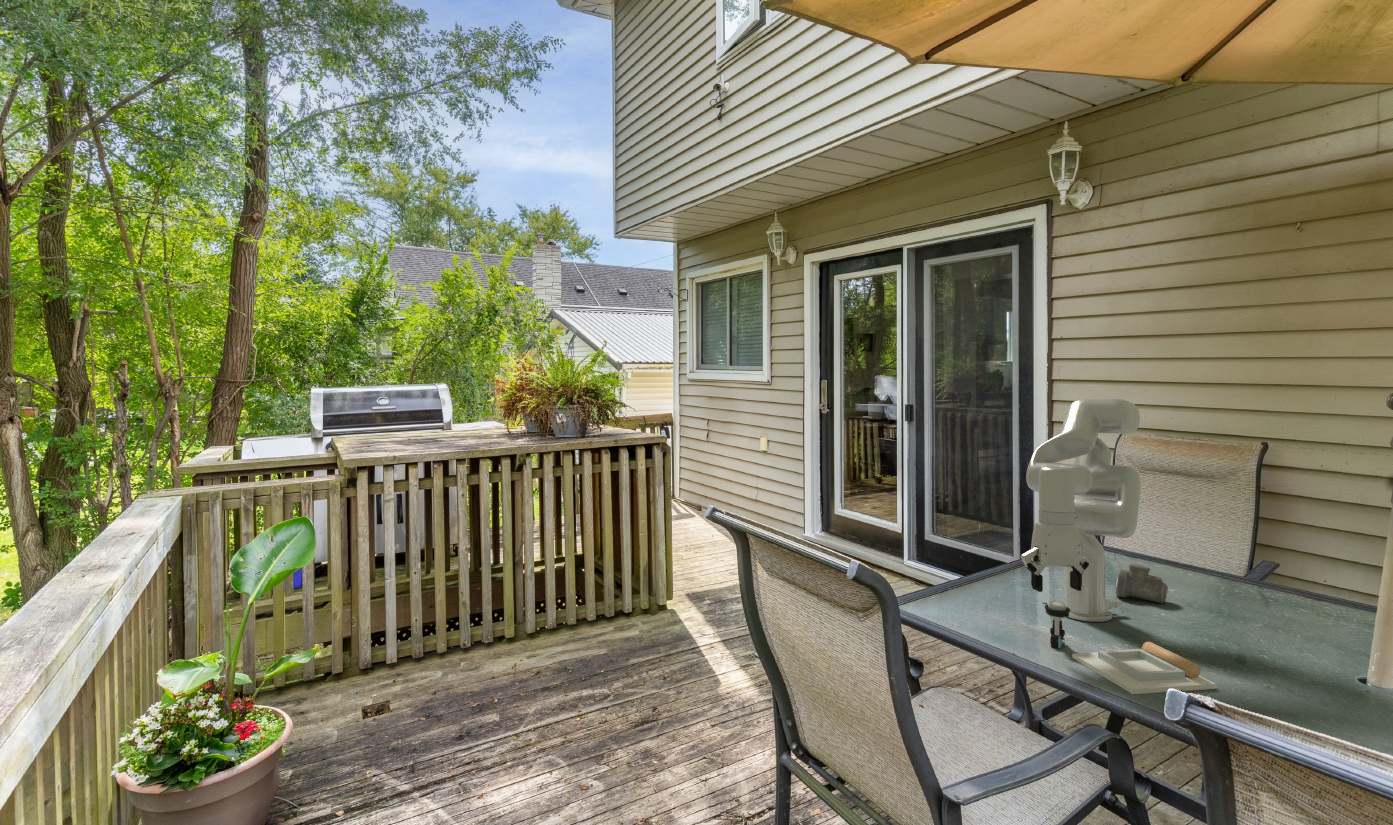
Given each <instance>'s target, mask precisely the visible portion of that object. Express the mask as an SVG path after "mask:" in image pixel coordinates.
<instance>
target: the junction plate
mask: <svg viewBox="0 0 1393 825" xmlns="http://www.w3.org/2000/svg"><path fill="white" fill-rule="evenodd" d="M1071 658H1072V659H1073V660H1075V661H1076V662H1078V663H1079V664H1081V665H1082V666H1085V667H1086V668H1088V669H1090V670H1092V671H1093V672H1095V673H1096V674H1099V675H1100V676H1101V677H1103V678H1104V679H1106V680H1108V681H1109V682H1111V683H1113V684H1115V685H1117V686H1118V687H1120V688H1121V689H1123V690H1125V691H1127V692H1128V693H1130V694H1131V695H1141V694H1142V695H1144V694H1158V693H1167V692H1166V690H1168V689H1169V688H1175V689H1179V690H1182V691H1181V692H1188V691H1189V692H1190V691H1205V690H1215V689H1217V684H1216V683H1215V682H1213V681H1211V680H1209V679H1207V678H1205V677H1203V676H1202V675H1201V671H1202V670H1201V668H1202V667H1201V666H1200V665H1199V664H1197V663H1195V662H1194V661H1191V660H1189V659H1187V658H1185V657H1183V656H1180V655H1178V654H1177V653H1174V652H1173V651H1170V650H1168V649H1166V648H1164V647H1162V646H1160V645H1157V644H1155V643H1154V642H1152V641H1146V642H1144V643H1143V644H1142V647H1141V648H1130V649H1118V650H1117V649H1114V650H1100V651H1093V652H1092V651H1091V652H1078V653H1077V652H1076V653H1072V654H1071ZM1164 691H1165V692H1164Z"/></svg>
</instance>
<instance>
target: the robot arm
mask: <svg viewBox="0 0 1393 825" xmlns="http://www.w3.org/2000/svg"><path fill="white" fill-rule="evenodd" d="M1140 422H1141V415H1140V411H1139V408H1138V406H1136V405H1135V404H1134V403H1133V402H1131V401H1129V400H1125V399H1121V398H1082V399H1078V400H1075V401H1072V402H1071V403H1070V405H1069V406H1068V408H1067V411H1066V413H1065V417H1064V419H1063V423H1062V426H1061V429H1060V431H1059V434H1056V436H1053V437H1051V438H1049V439H1048V440H1046V441H1045V442H1043V443H1042V444H1040V445H1039V446H1038V447H1037V448H1036V449H1035V450H1034V452H1032V454H1031V458H1030V461H1029V463H1028V466H1027V469H1026V475H1025V476H1026V477H1025V480H1026V484H1027V486H1028V488H1029V489H1031V490H1032V491H1033V492H1038V522H1034V523H1035V524H1034V527H1033V531H1032V536H1031V544H1030V549H1029V550H1027V551H1025V552H1024V553H1022V554H1021V555H1020V558H1021V561H1022V563H1023V566H1024V567H1025V568H1026V569H1027V570H1028V572H1029V573H1030V574H1031V575H1030V576H1031V577H1030V584H1031V589H1032V590H1035V591H1036V592H1037V593H1038V592H1039V593H1041V592H1043V589H1044V587H1043V586H1044V583H1043V581H1044V580H1043V579H1044V576H1043V575H1042V573H1043V571H1044V569H1046V567H1047V568H1059V567H1061V568H1062V567H1063V578H1064V579H1063V588H1064V589H1063V590H1064V592H1063V594H1064V595H1063V596H1064V597H1063V598H1064V599H1063V603H1065V604H1066V607H1068V608H1070V612H1069V616H1068V617H1067V618H1070V619H1073V620H1077V621H1083V622H1094V623H1098V622H1100V623H1101V622H1102V623H1103V622H1108V621H1110V620H1112V619H1113V612H1112V611H1111V609H1112V608H1115V609H1116V608H1122V607H1123V602H1122V600H1120V599H1115V600H1113V599H1112V600H1111V599H1110V598H1109V597H1108V598H1106V553H1105V549H1104V546H1103V545H1102V543H1101V542H1100V541H1099V540H1098V539H1097V537H1096V536H1105V537H1109V538H1110V537H1111V538H1112V537H1113V538H1120V539H1123V538H1124V539H1126V538H1127V539H1128V538H1130V537H1132V536H1133V535H1135V532H1136V529H1137V524H1138V518H1139V508H1140V507H1139V506H1140V502H1141V501H1140V499H1141V489H1142V488H1141V486H1142V485H1141V484H1142V483H1141V477H1140V474H1139V472H1138V470H1137V469H1136V468H1134V467H1132V466H1129V465H1128V466H1127V465H1118V464H1116V465H1115V464H1111V461H1112V451H1111V449H1110V448H1109V447H1108V445H1107V444H1106V443H1105V442H1104V440H1102V439H1101V438H1099V437H1098V436H1099V434H1119V435H1121V434H1123V435H1125V434H1126V435H1129V434H1130V435H1131V434H1134V433H1135V432H1136V431H1137V430H1138V428H1139V426H1140ZM1070 459H1074V464H1073V463H1060V462H1062V461H1066V460H1070ZM1076 496H1078V497H1076Z"/></svg>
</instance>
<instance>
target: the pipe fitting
mask: <svg viewBox="0 0 1393 825" xmlns="http://www.w3.org/2000/svg"><path fill="white" fill-rule="evenodd" d="M1128 568H1129V570H1126V569H1124V568H1123V569H1122V568H1121V569H1120V570H1119V572H1118V576H1117V579H1116V585H1115V586H1116V588H1115V589H1116V590H1115V595H1116V597H1119V598H1123V599H1125V598H1128V597H1134V598H1138V599H1140V600H1141V599H1142V600H1145V601H1150V602H1153V603H1156V604H1161V603H1162V604H1164V603H1166V600H1167V596H1168V590H1169V587H1168V585H1167V583H1165V582H1163V579H1162V578H1161V576H1157V575H1151V574H1149V573H1150V570H1151V568H1150V567H1149V566H1146V565H1143V564H1137V563H1133V562H1131V563H1128Z"/></svg>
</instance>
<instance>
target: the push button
mask: <svg viewBox="0 0 1393 825" xmlns="http://www.w3.org/2000/svg"><path fill="white" fill-rule="evenodd" d="M1044 609H1045V613H1046V614H1047V615H1049V617H1051V618H1052V625H1051V626H1052V627H1050V629H1049V634H1050V640H1049V642H1050V647H1051V648H1054V649H1062V645H1063V646H1064V647H1065V646H1066V644H1065V643H1066V638H1065V637H1064V636H1066V634H1065V633H1066V631H1065V629H1063V621H1062V619H1065V618H1069V617H1068V616H1069V612H1070V608H1068V607H1066V604H1065V603H1064V602H1061V601H1056V600H1055V601H1048V603H1047V604H1045V605H1044ZM1063 643H1064V644H1063Z"/></svg>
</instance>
